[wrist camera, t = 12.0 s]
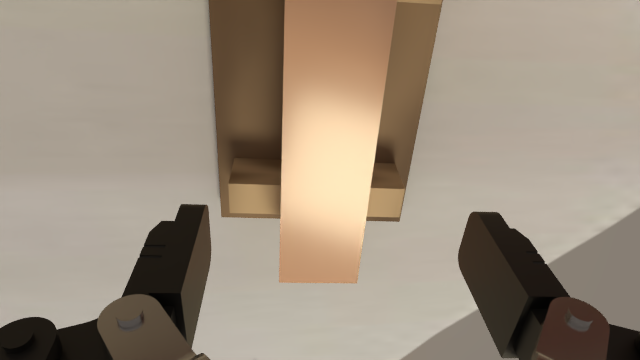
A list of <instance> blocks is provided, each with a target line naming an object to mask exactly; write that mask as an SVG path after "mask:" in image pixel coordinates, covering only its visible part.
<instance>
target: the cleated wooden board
mask: <svg viewBox="0 0 640 360" xmlns="http://www.w3.org/2000/svg"><path fill="white" fill-rule="evenodd" d="M442 1H443V0H397V6H396V13H395V20H394V27H393V34H392V41H391V48H390V55H389V62H388V69H387V76H386V83H385V90H384V97H383V104H382V111H381V118H380V125H379V132H378V139H377V146H376V153H375V160H374V167H373V174H372V181H371V188H370V195H369V202H368V209H367V216H366V221H397V222H399V221H400V216H401V211H402V205H403V200H404V195H405V190H406V185H407V180H408V175H409V170H410V165H411V160H412V154H413V149H414V144H415V139H416V134H417V129H418V124H419V119H420V114H421V109H422V103H423V98H424V93H425V88H426V83H427V78H428V73H429V68H430V63H431V58H432V52H433V47H434V42H435V37H436V32H437V27H438V22H439V17H440V12H441V7H442ZM209 12H210V29H211V46H212V63H213V80H214V97H215V114H216V131H217V148H218V165H219V182H220V199H221V216H222V217H241V218H280V217H281V167H282V116H283V66H284V15H285V0H209Z"/></svg>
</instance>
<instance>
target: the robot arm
mask: <svg viewBox="0 0 640 360" xmlns="http://www.w3.org/2000/svg"><path fill="white" fill-rule="evenodd" d="M210 261H211V238H210V224H209V211H208V206H207V205H192V204H181V206H180V208H179V211H178V213H177V216H176V219H175V221H161V222H160V223H159V224H158V225H157V226H156V227H155V228H153V229H152V230H151V231H150V232H149V234H148V237H147V239H146V241H145V244H144V247H143V248H142V251H141V253H140V257H139V258H138V260H137V262H136V265H135V267H134V269H133V272H132V274H131V276H130V279H129V281H128V283H127V286H126V288H125V290H124V293H123V295H122V297H121V298H119V299H117V300H115V301H113V302H112V303H110V304H109V305H108V306H107V307H105V309H104V310H103V311H102V312H101V314H100V315H99V318H97V319H95V320H92V321H90V322H86V323H83V324H78V325H74V326H70V327H66V328H62V329H58V330H56V327H55V325H54V324H53V323H52V322H51V321H50V320H48V319H45V318H41V317H29V318H23V319H20V320H16V321H14V322H11V323H9V324H7V325H5V326H3V327H2V328H0V360H210V359H209V358H208V357H207V356H206V355H205V354H204V353H201V354H199V355H196V354H195V353H194V352H193V350H192V344H193V340H194V335H195V330H196V326H197V321H198V317H199V312H200V308H201V303H202V299H203V294H204V290H205V285H206V281H207V276H208V272H209V267H210ZM458 262H459V267H460V270H461V272H462V275H463V277H464V279H465V281H466V283H467V285H468V287H469V289H470V292H471V294H472V296H473V298H474V300H475V302H476V304H477V306H478V309H479V310H480V313H481V315H482V317H483V319H484V321H485V323H486V326H487V328H488V330H489V332H490V334H491V336H492V338H493V340H494V343H495V345H496V347H497V349H498V351H499V353H500V355H501V357H502V358H519V360H640V332H638V331H635V330H631V329H627V328H623V327H619V326H615V325H611V324H609V323H608V322H607V320H606V318H605V317H604V316H603V315H602V314H601V313H600V312H599V311H598V310H597V309H596V308H594V307H593V306H591V305H590V304H588V303H586V302H584V301H581V300H579V299H575V298H571V297H570V296H569V295H568V293H567V292H566V291H565V289H564V288H563V286H562V285H561V284H560V282H559V281H558V280H557V278H556V277H555V275H554V274H553V273H552V271H551V270H550V268H549V267H548V265H547V264H545V261H544V260H543V259H542V257H541V256H540V254H537V250H536V249H535V247H534V246H533V245H532V243H531V242H530V240H529V239H528V238H526V237H525V236H524V235H522V234H521V233H520V232H518V231H517V230H516V229H510V228H509V227H508V225H507V224H506V222H505V221H504V219H503V218H502V216H501V215H500V214H499V213H498V212H472V213H471V214H470V216H469V218H468V222H467V225H466V228H465V232H464V235H463V238H462V242H461V245H460V248H459V253H458Z"/></svg>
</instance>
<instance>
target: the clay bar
mask: <svg viewBox="0 0 640 360" xmlns="http://www.w3.org/2000/svg"><path fill="white" fill-rule="evenodd" d="M396 6H397V0H285V15H284V66H283V116H282V167H281V217H280V268H279V282H290V283H357V279H358V272H359V265H360V258H361V251H362V244H363V237H364V230H365V223H366V216H367V209H368V202H369V195H370V188H371V181H372V174H373V167H374V160H375V153H376V146H377V139H378V132H379V125H380V118H381V111H382V104H383V97H384V90H385V83H386V76H387V69H388V62H389V55H390V48H391V41H392V34H393V27H394V20H395V13H396Z"/></svg>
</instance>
